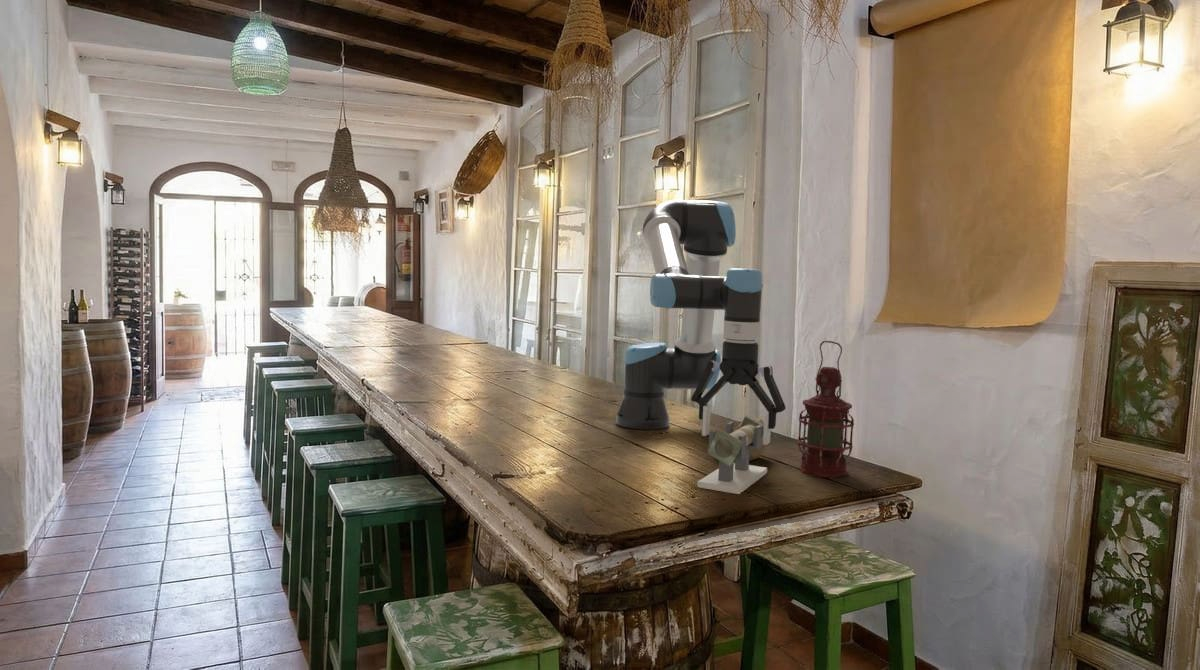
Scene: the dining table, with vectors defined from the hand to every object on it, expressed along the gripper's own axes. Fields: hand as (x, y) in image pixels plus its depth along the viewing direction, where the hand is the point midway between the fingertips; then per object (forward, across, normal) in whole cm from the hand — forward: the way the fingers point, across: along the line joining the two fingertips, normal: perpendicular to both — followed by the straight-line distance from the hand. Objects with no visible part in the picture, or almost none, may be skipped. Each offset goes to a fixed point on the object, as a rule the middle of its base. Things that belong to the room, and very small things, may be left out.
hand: (735, 439), depth 172 cm
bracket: (+9, 0, 0) cm, 9 cm away
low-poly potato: (+9, -5, +20) cm, 22 cm away
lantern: (+9, +15, +19) cm, 26 cm away
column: (+2, 0, 0) cm, 2 cm away
